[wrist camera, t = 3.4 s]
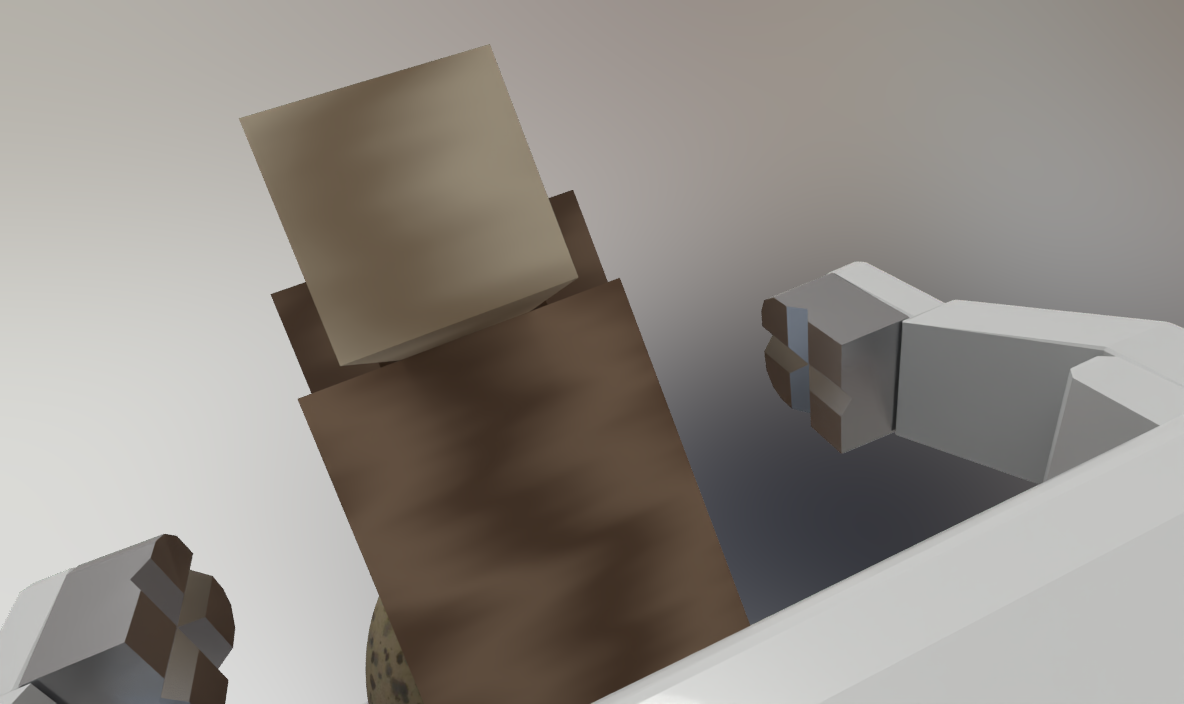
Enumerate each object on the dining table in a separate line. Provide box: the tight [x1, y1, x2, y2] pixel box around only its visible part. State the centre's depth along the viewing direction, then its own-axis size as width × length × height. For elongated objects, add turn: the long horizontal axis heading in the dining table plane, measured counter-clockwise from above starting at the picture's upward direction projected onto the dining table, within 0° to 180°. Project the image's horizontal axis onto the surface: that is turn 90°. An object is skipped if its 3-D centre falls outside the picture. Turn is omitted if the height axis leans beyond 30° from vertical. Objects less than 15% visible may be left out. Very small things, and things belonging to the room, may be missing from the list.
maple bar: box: [239, 44, 579, 366], centre depth 22 cm, size 4×24×4 cm, turn 11°
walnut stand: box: [271, 190, 750, 704], centre depth 25 cm, size 10×10×29 cm
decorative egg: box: [366, 596, 424, 704], centre depth 41 cm, size 11×11×15 cm
